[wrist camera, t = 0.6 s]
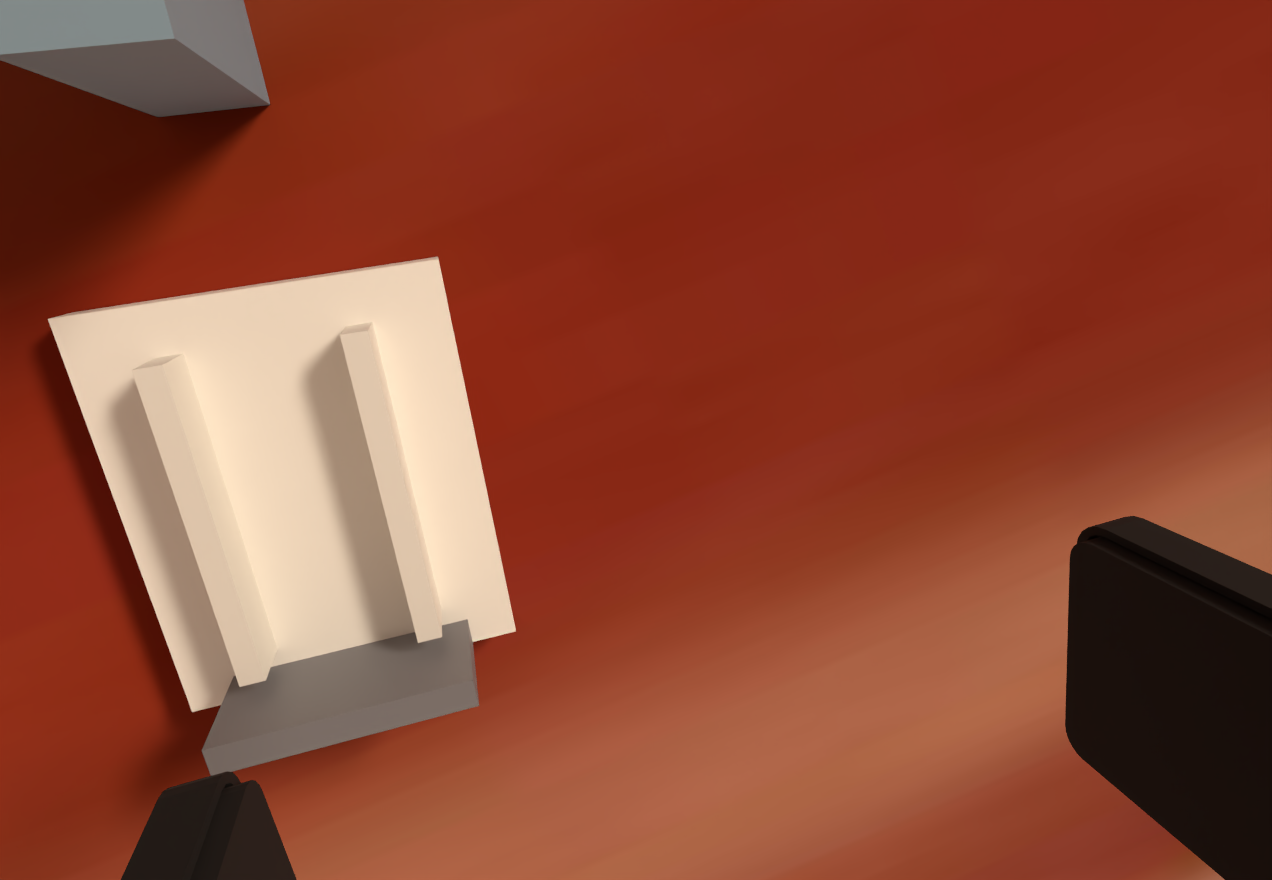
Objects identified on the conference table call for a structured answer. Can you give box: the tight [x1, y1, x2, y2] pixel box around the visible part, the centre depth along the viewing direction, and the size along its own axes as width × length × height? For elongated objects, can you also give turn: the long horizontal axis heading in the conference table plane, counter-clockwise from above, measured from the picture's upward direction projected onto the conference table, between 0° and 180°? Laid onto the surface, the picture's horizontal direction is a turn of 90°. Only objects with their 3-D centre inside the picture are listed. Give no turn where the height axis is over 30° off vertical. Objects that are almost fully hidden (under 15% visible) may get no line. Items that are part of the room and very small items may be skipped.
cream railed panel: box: [48, 257, 516, 776], centre depth 31 cm, size 17×14×7 cm
